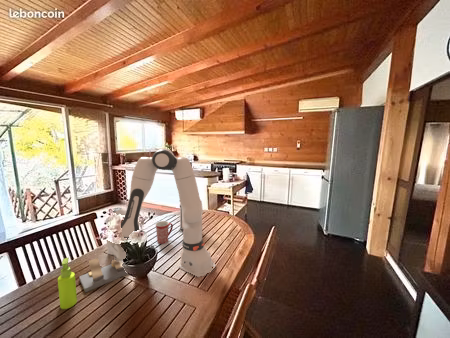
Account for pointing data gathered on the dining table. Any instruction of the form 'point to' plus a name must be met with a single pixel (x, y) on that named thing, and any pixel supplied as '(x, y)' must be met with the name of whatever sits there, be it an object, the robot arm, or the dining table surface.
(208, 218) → the dining table surface
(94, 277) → the latch
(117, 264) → the latch
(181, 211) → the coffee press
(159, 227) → the mug
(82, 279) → the board
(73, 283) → the soap dispenser
